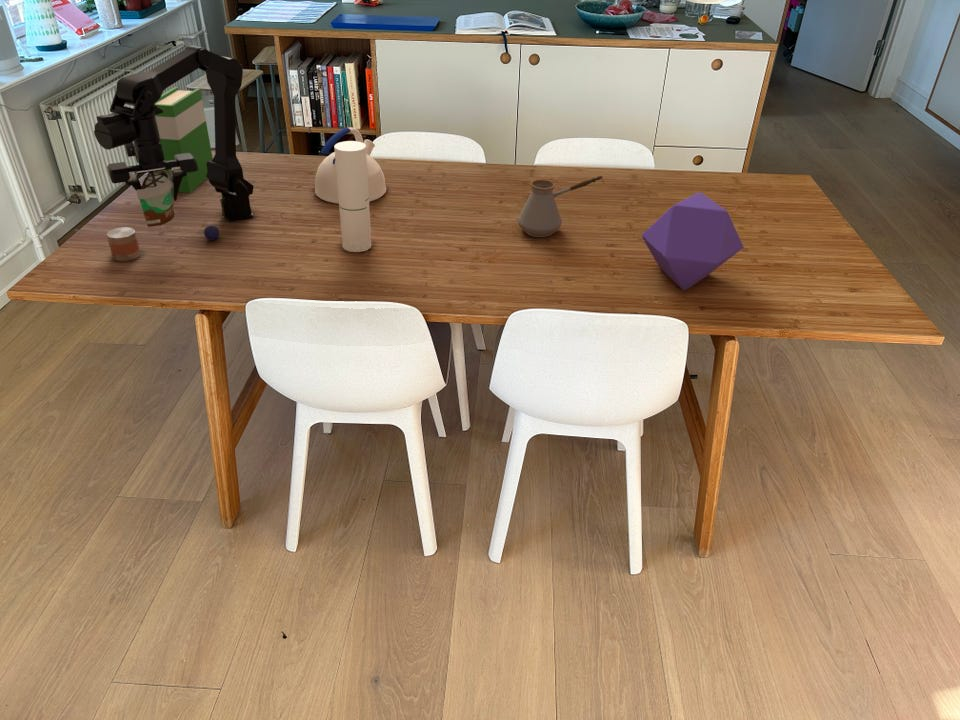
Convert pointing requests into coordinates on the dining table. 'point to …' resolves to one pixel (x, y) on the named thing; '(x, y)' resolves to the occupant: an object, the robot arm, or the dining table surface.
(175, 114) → the hardback book
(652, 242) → the purple faceted block
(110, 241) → the tin can
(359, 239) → the cylindrical container
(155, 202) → the food container
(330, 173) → the kettle
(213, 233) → the blue ball
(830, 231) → the dining table surface
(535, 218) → the coffee pot
